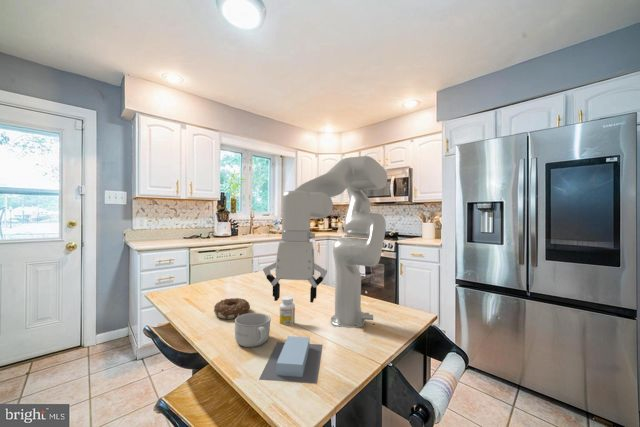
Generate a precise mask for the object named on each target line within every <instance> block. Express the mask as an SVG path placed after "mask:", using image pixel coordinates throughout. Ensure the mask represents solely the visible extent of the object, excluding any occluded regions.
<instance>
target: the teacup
mask: <svg viewBox="0 0 640 427" xmlns="http://www.w3.org/2000/svg"><path fill="white" fill-rule="evenodd" d="M271 319H272V318H271V317H270V315H268V314H265V313H260V312H259V313H258V312H252V313H251V312H250V313H248V312H247V313H246V314H243V315H240V316H238V317H237V318H234V338H235V341H236V343H237V344H238V345H240V346H242V347H244V348H245V347H246V348H255V347H258V346H261V345H263V344H265V343H266V342H267V340H268V339H269V336H270V330H271Z"/></svg>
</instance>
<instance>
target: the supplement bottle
mask: <svg viewBox="0 0 640 427" xmlns="http://www.w3.org/2000/svg"><path fill="white" fill-rule="evenodd" d="M281 302H282V303H280V304H279V324H280V325H283V326H289V325H290V326H291V325H293V326H294V325H295V324H296V323H295V322H296V321H295V319H296V318H295V313H296V312H295V310H296V307H295V306H296V305H295V303H294V297H293V296H287V295H285V296H282V298H281Z"/></svg>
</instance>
